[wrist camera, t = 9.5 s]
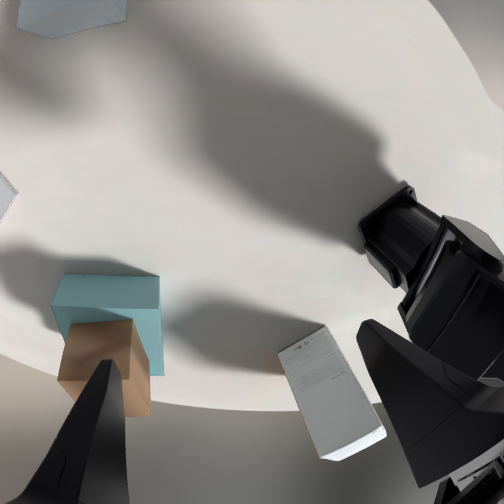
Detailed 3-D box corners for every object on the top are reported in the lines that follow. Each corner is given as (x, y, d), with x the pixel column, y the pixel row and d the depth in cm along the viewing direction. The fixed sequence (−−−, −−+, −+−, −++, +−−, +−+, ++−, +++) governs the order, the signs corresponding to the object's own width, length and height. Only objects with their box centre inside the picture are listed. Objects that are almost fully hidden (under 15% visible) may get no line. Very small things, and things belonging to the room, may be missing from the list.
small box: (275, 352, 29) (318, 459, 19) (326, 323, 29) (384, 425, 18) (300, 377, 34) (337, 462, 23) (342, 353, 34) (388, 435, 23)
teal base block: (159, 273, 21) (158, 309, 18) (162, 341, 25) (164, 375, 22) (65, 271, 19) (50, 304, 15) (84, 339, 23) (78, 372, 19)
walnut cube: (132, 318, 18) (129, 379, 14) (149, 361, 20) (151, 415, 16) (70, 323, 17) (57, 380, 13) (94, 364, 19) (89, 416, 15)
